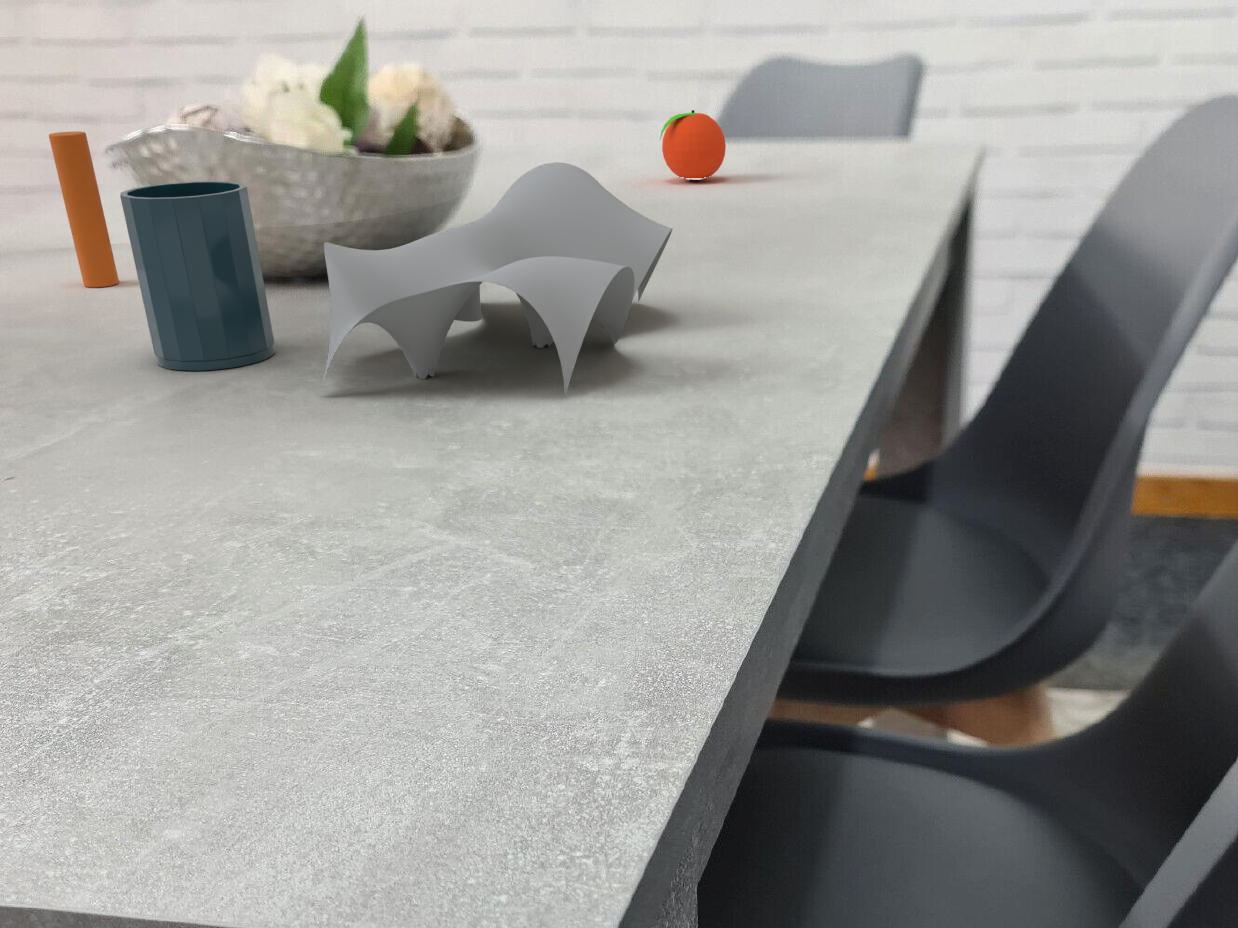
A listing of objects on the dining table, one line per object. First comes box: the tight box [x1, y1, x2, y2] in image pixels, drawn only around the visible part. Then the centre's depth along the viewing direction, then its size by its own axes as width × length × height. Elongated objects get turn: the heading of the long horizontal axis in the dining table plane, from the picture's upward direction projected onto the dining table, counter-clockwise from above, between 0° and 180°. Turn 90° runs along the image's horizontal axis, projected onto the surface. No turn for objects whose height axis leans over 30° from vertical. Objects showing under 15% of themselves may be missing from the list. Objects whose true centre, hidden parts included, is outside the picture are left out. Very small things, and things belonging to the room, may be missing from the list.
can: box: [119, 180, 276, 372], centre depth 89 cm, size 7×7×10 cm
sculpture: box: [320, 162, 673, 397], centre depth 90 cm, size 25×19×10 cm
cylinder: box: [48, 131, 120, 288], centre depth 110 cm, size 3×3×11 cm
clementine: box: [659, 109, 727, 178], centre depth 155 cm, size 8×7×7 cm
